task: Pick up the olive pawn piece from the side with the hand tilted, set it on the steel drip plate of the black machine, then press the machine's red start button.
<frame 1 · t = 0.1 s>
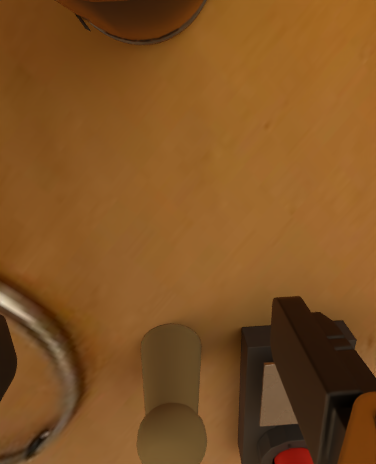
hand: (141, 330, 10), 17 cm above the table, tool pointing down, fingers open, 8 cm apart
olive pawn piece: (171, 346, 33), on the table
drip plate: (304, 391, 30), resting on machine
machine: (284, 388, 37), on the table
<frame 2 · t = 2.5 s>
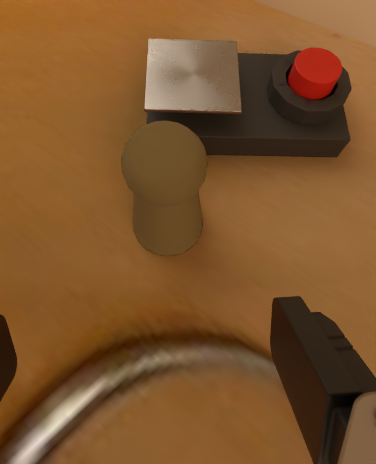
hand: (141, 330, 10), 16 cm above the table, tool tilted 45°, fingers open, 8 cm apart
olive pawn piece: (168, 223, 29), on the table
drip plate: (192, 76, 29), resting on machine
start button: (314, 74, 29), point 5 cm above the table, slide at 0.1 cm
machine: (240, 113, 34), on the table
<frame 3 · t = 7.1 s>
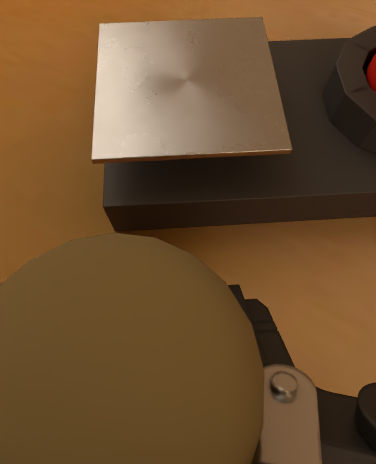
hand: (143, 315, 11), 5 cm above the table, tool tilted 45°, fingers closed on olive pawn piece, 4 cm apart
olive pawn piece: (158, 377, 15), on the table, touching gripper
drip plate: (186, 85, 15), resting on machine
machine: (272, 143, 19), on the table
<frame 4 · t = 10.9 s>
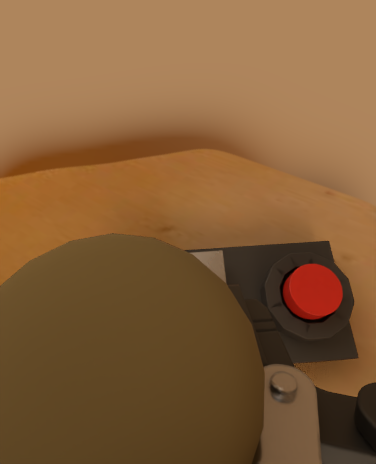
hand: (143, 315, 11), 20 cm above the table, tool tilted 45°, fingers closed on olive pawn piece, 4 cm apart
olive pawn piece: (159, 378, 15), point 15 cm above the table, touching gripper
drip plate: (177, 302, 26), resting on machine
start button: (311, 291, 26), point 5 cm above the table, slide at 0.1 cm
machine: (233, 308, 31), on the table
when the fingers open (9 cm above the table, at t = 14.9 s): olive pawn piece stays where it is, resting on drip plate.
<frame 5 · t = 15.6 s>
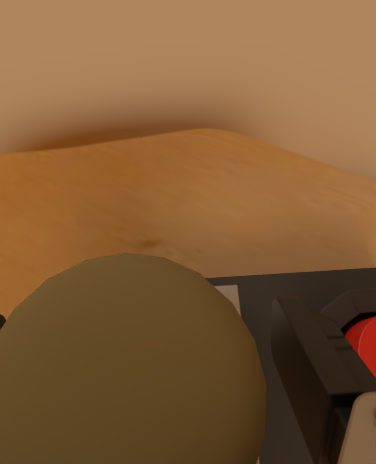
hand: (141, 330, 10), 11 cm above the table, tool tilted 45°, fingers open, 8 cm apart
olive pawn piece: (162, 382, 15), point 5 cm above the table, touching drip plate
drip plate: (159, 377, 15), resting on machine
machine: (251, 371, 19), on the table
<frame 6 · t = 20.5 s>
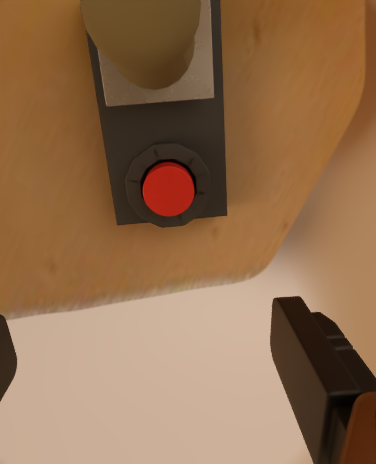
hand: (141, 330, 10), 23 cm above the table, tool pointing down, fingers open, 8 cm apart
olive pawn piece: (151, 43, 23), point 5 cm above the table, touching drip plate
drip plate: (154, 41, 24), resting on machine
start button: (168, 189, 27), point 5 cm above the table, slide at 0.1 cm
machine: (162, 114, 30), on the table
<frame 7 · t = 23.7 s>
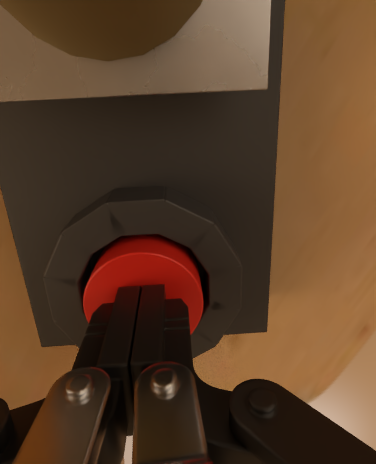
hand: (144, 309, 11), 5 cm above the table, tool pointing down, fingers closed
start button: (145, 291, 12), point 4 cm above the table, slide at -0.7 cm, touching gripper
machine: (140, 122, 14), on the table
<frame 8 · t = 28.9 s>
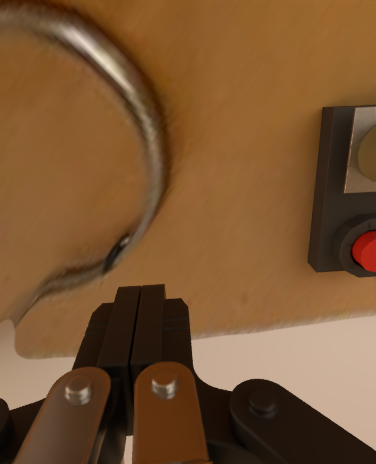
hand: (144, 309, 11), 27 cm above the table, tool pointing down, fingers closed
start button: (374, 251, 36), point 5 cm above the table, slide at 0.1 cm
machine: (357, 189, 38), on the table
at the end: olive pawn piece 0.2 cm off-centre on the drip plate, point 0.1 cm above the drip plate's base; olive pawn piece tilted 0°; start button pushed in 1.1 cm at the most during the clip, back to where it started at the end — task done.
